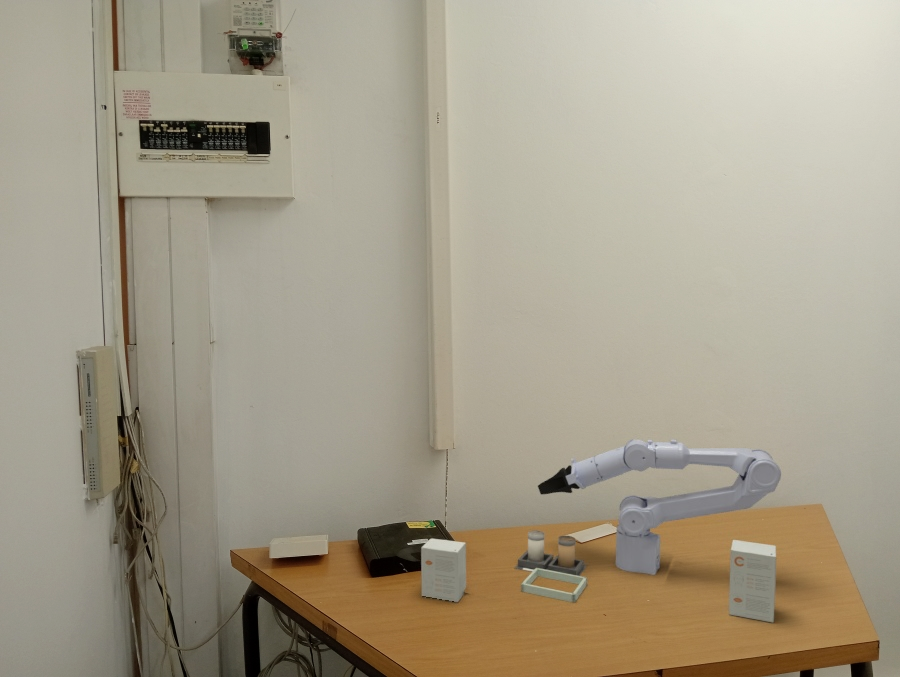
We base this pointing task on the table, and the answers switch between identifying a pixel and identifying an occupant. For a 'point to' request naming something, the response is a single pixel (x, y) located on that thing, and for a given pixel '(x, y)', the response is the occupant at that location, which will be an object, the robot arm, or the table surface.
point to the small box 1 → (443, 569)
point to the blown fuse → (566, 552)
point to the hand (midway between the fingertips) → (542, 488)
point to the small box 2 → (752, 580)
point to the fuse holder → (549, 565)
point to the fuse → (536, 546)
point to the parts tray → (551, 592)
